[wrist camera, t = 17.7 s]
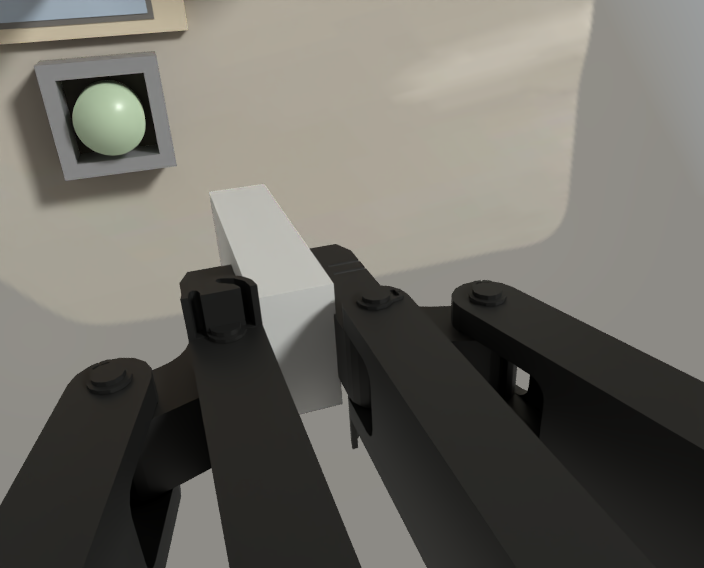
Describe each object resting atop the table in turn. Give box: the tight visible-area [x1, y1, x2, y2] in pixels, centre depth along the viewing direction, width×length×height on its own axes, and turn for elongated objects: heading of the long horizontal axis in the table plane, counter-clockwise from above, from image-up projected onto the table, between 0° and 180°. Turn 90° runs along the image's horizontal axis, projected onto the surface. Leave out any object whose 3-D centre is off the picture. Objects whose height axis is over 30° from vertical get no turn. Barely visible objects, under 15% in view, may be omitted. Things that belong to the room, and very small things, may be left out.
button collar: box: [34, 51, 177, 181], centre depth 34 cm, size 6×6×2 cm
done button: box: [72, 80, 145, 156], centre depth 33 cm, size 4×4×3 cm
